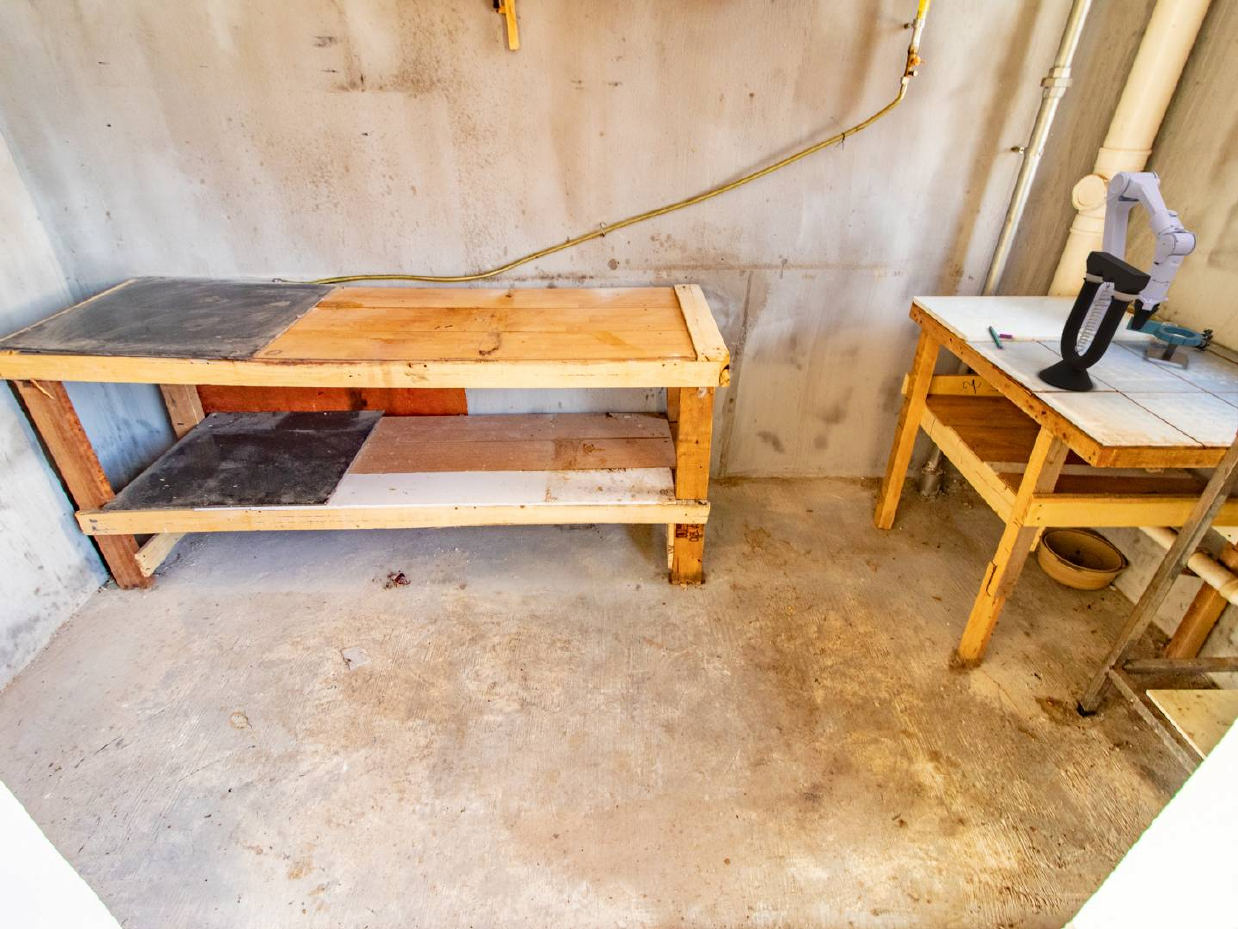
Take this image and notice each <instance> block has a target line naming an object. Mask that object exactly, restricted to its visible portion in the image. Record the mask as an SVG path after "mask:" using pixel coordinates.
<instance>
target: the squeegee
mask: <svg viewBox="0 0 1238 929" xmlns="http://www.w3.org/2000/svg"><path fill="white" fill-rule="evenodd" d="M988 328H989V331H990V333H991V335H992V337H993V339H994V340H995V342H996V344H997V346H998V348H999V349H1002V348H1003V345H1002V343H1001V340H1000V339H999V337H1000V338H1009V339H1012V338H1013V334H1007V333H999V337H998V333H997V332H995V329H994V328H993V326H991V325H989V327H988Z"/></svg>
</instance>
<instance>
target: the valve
mask: <svg viewBox="0 0 1238 929" xmlns="http://www.w3.org/2000/svg"><path fill="white" fill-rule="evenodd" d="M1162 325H1171V326H1178V327H1179V324H1177V323H1175V322H1171V321H1163V322H1162ZM1212 333H1214V330H1213V329H1210V328H1208V329H1204V330H1203V333H1200V334H1201V335H1202V336H1203V339H1202V341H1201V343H1200V345H1197V346H1195V348H1197V349H1200V351H1201V352H1206V351H1207V347H1210V346H1211V344H1212V343H1211V340H1212V339H1213V338H1214V334H1212ZM1172 335H1175V336H1180V337H1184V336H1181V335H1176V334H1172ZM1154 337H1155V336H1154ZM1153 342H1155V343H1157V344H1160V345H1166V346H1168V344H1169V343H1168V342H1165V341H1163V340H1160V339H1158V338H1157V337H1155V338H1154V339H1153Z"/></svg>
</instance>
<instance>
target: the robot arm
mask: <svg viewBox="0 0 1238 929" xmlns="http://www.w3.org/2000/svg"><path fill="white" fill-rule="evenodd" d="M1161 182H1162V181H1161V179H1160V178H1159V175H1158V174H1157V173H1156V172H1155V171H1149V172H1139V171H1137V172H1136V171H1134V172H1133V171H1119V172H1117V173H1115V175H1114V176H1113V177H1112V178H1111V180H1110V181H1109V182H1108V183H1107V189H1106V198H1105V205H1106V206H1105V214H1104V222H1103V223H1104V224H1103V234H1102V243H1101V244H1102V245H1101V252H1108V253H1110V254H1111V255H1113V256H1115V257H1117V258H1119V259H1120V260H1122V261H1124V262H1125V252H1126V244H1127V243H1126V242H1127V232H1128V223H1129V212H1130V210H1131V209H1132V208H1134V207H1136V206H1138V205H1139V204H1141V205H1142V206H1143V209H1145V211H1146V212H1147V215H1149V217H1150V219H1149V221H1148V226H1149V228H1150V230H1151V232H1152V234H1153V236H1154V238H1155V240H1156V242H1155V244H1154V254H1153V257H1152V258H1153V259H1152V260H1153V262H1152V264H1151V266H1150V268H1149V270H1148V272H1147V274H1148V275H1149V276H1151V278H1150V280H1149V282H1148V284H1147V286H1146V288H1145V289H1144V290H1142V291H1141V292H1139V293H1140V295H1138V296H1137V297H1136V298H1135V299H1134V303H1133V309H1134V311H1133V312H1134V313H1133V316H1132V317H1133V321H1132V324H1131V329H1134V330H1140V329H1141V328H1142V327H1143V326H1144V324H1145V323H1146V322H1147V320H1150V318H1152V316H1154V315H1155V314H1156V313H1157V312H1158V311H1159V310H1160V306H1161V303H1162V302H1165V303H1168V302H1169V301H1170V298H1169V297H1167V296H1166V295H1167V293H1168V291H1169V289H1170V286H1171V285H1172V282H1173V281H1174V279H1175V276H1176V275H1177V273H1178V270H1179V269H1180V267H1181V265H1182V263H1183V261H1184V258H1185V257H1186V256H1189V255H1191V254H1192V253H1193V252H1194V250H1195V249H1196V247H1197V244H1198V239H1197V235H1196V233H1195V232H1192V231H1188V230H1187V229H1185V227H1184V226H1183V223H1182V222H1181V220H1180V219H1179V214H1178V213H1177V211H1175V210H1172V209H1167V206H1166V204H1165V201H1164V198H1163V196H1162V194H1161V191H1160V189H1159V188H1160V185H1161ZM1106 283H1107V285H1109V284H1110V287H1109V289H1108V288H1107V290H1108V291H1110V292H1111V293H1108V292H1102V293H1103V294H1106V295H1109V297H1108V296H1101V297H1103V298H1107V299H1108V300H1104V299H1099V300H1100V301H1102V302H1106V304H1104V303H1098V304H1099V305H1103V306H1104V307H1100V306H1096V307H1097V308H1099V309H1103V310H1102V311H1100V310H1094V311H1096V312H1100V313H1101V314H1097V313H1093V315H1097V316H1099V318H1098V317H1091V318H1093V319H1097V320H1098V321H1094V320H1089V321H1091V322H1094V323H1096V324H1091V323H1088V325H1091V326H1094V328H1092V327H1086V328H1088V329H1092V330H1093V331H1092V332H1097V330H1098V328H1099V326H1100V324H1101V322H1102V319H1103V317H1104V315H1105V313H1106V311H1107V309H1108V307H1109V305H1110V302H1111V300H1112V299H1111V296H1112V295H1114V283H1109V282H1104V283H1103V284H1102V285H1101V286H1100V287H1099V289H1098V291H1097V293H1096V296H1095V298H1094V300H1093V302H1092V304H1091V306H1090V309H1089V311H1088V313H1087V315H1086V317H1085V319H1084V322H1083V324H1082V326H1081V328H1080V329H1085V328H1084V327H1085V326H1087V325H1086V323H1087V322H1088V319H1090V318H1089V316H1091V312H1093V311H1092V309H1094V306H1095V305H1096V302H1098V301H1097V299H1098V298H1099V295H1101V293H1100V292H1101V291H1106V290H1105V289H1106Z"/></svg>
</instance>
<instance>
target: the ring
mask: <svg viewBox="0 0 1238 929" xmlns="http://www.w3.org/2000/svg"><path fill="white" fill-rule="evenodd" d="M1133 317H1134V316H1130V318H1129V321H1128V323H1127V325H1126V327H1125V330H1127V331H1132V332H1137V333H1142V334H1146V335H1151V336H1154V337H1157V338H1158V339H1160V340H1163V341H1165V342H1168V343H1172V344H1177V345H1178V346H1184V347H1196V346H1197V345H1200V343H1201V341H1202V339H1203V336H1202V335H1201V334H1202V333H1200V332H1198V331H1196V330H1194V329H1190V328H1187V327H1183V326H1179V325H1178V326H1171V325H1162V323H1163V322H1162V321H1158V320H1152V319H1148V320H1147V322H1146V323H1145V324H1144V326H1143V327H1142V328H1141V329H1140V330H1134V329H1131V324H1132V321H1133ZM1172 334H1176V335H1181V336H1184V337H1180V336H1175V335H1172Z"/></svg>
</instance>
